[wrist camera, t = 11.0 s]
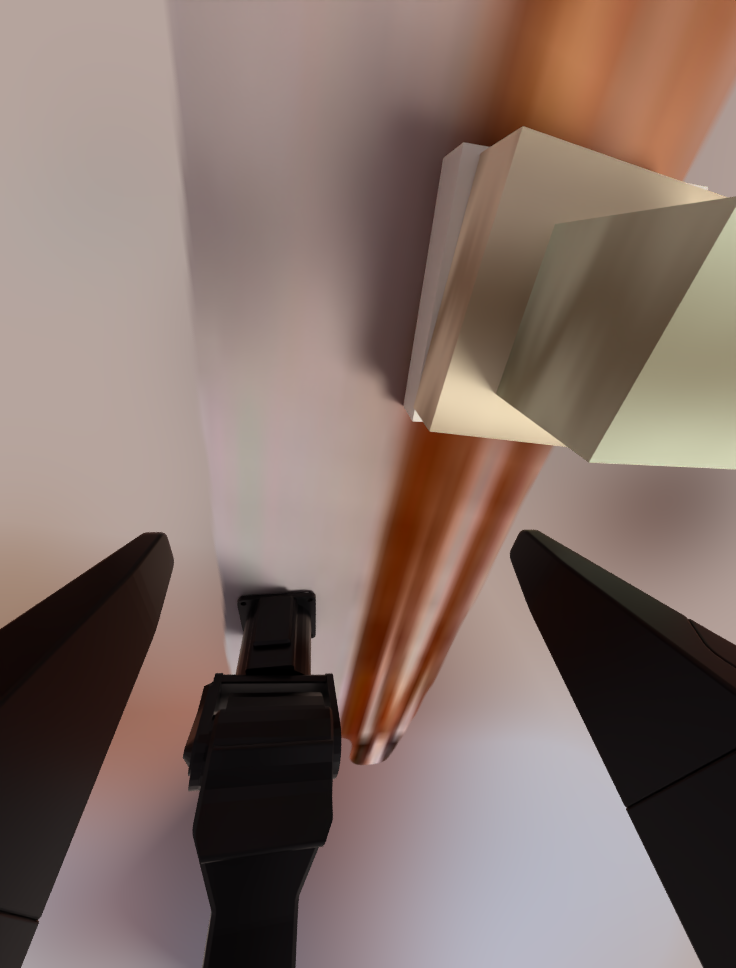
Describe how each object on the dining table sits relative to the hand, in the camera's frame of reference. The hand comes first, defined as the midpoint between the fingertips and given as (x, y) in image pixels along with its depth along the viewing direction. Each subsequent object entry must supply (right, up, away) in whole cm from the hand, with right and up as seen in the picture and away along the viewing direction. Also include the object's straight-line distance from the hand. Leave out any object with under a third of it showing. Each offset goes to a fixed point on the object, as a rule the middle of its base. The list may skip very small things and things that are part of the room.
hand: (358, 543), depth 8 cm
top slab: (+8, +9, +8) cm, 15 cm away
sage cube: (+9, +8, +5) cm, 13 cm away
